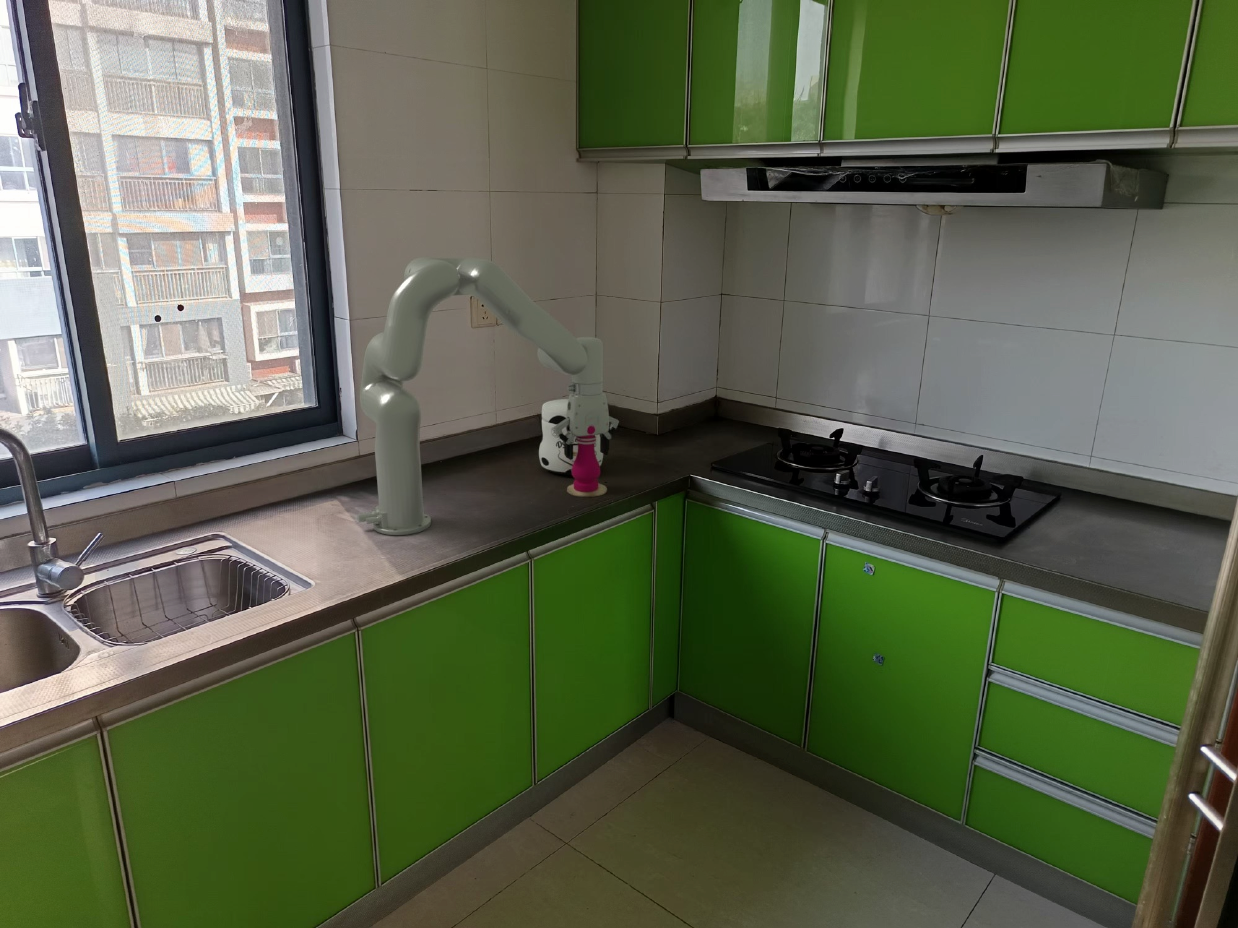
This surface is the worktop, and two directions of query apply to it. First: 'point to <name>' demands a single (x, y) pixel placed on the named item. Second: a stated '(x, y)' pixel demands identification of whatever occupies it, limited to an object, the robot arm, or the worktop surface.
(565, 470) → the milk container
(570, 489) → the plate
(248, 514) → the worktop surface
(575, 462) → the pepper mill
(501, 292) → the robot arm
